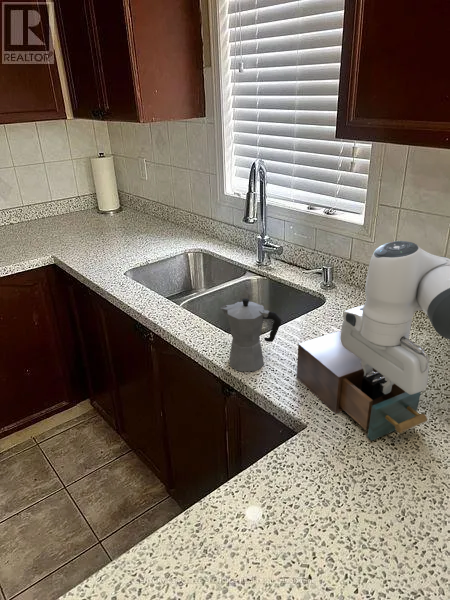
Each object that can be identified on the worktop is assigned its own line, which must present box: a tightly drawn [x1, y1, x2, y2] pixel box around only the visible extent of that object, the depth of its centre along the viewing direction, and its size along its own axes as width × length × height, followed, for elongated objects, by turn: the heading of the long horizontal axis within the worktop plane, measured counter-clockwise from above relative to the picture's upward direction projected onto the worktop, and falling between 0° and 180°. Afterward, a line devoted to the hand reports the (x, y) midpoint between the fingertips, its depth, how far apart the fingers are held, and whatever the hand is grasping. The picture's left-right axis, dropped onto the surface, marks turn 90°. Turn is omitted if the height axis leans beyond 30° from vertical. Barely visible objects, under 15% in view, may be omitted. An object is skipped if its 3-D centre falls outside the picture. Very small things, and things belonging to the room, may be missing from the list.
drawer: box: [339, 368, 428, 441], centre depth 91 cm, size 18×11×8 cm, turn 26°
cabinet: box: [296, 330, 364, 415], centre depth 101 cm, size 15×13×10 cm
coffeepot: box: [219, 297, 282, 373], centre depth 109 cm, size 15×9×18 cm, turn 67°
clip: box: [361, 371, 389, 400], centre depth 90 cm, size 5×3×4 cm, turn 116°
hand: (376, 385), depth 90 cm, fingers open, 3 cm apart
